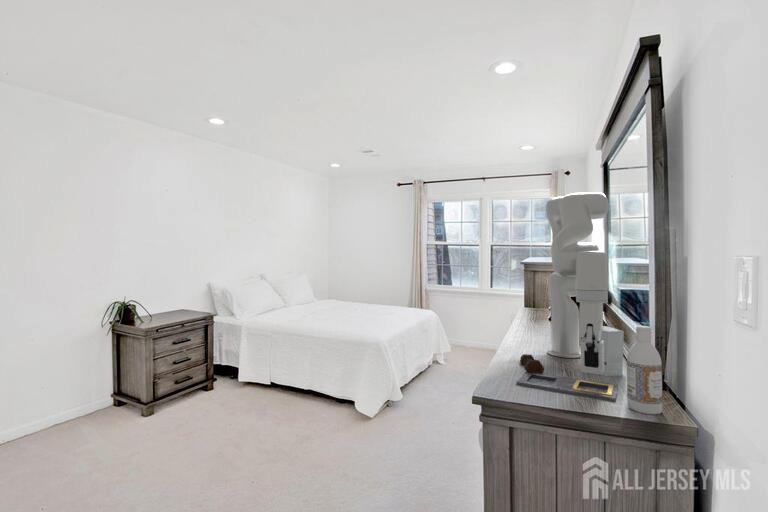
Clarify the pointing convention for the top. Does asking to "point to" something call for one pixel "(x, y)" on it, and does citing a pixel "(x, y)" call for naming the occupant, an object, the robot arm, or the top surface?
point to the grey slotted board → (569, 386)
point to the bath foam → (644, 374)
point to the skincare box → (613, 351)
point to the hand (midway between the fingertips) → (592, 363)
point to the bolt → (531, 364)
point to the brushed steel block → (600, 358)
